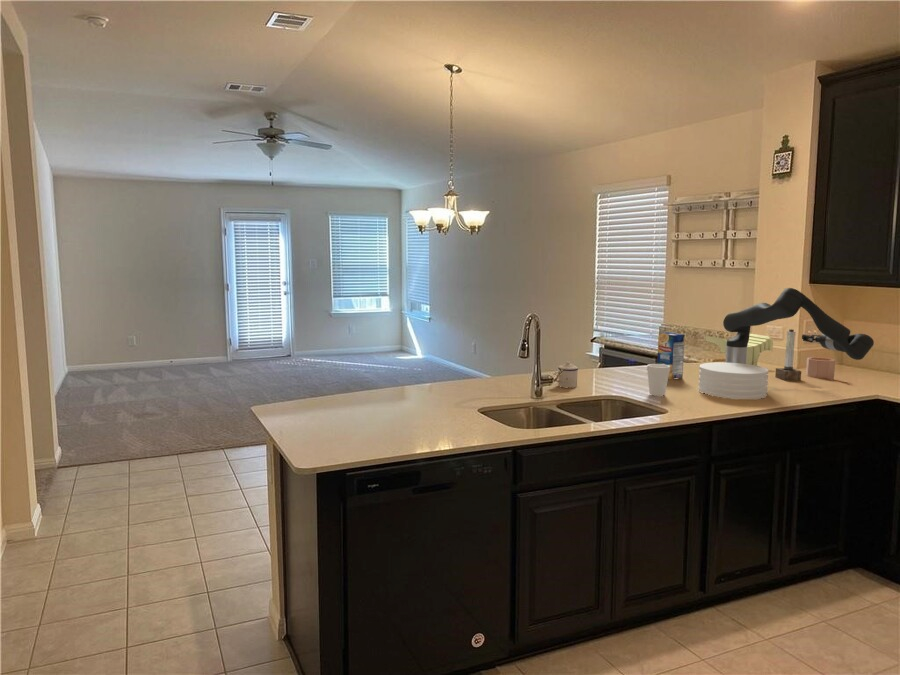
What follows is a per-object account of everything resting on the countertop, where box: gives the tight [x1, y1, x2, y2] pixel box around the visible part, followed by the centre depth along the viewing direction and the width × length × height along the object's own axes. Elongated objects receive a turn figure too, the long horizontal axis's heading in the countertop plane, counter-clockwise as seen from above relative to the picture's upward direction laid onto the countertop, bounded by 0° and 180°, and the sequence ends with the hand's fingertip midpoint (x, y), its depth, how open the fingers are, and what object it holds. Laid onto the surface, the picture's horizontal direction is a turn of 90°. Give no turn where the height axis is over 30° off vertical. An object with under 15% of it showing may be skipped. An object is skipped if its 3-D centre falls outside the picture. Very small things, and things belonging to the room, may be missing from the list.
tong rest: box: [774, 367, 802, 382], centre depth 307 cm, size 8×8×6 cm
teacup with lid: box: [553, 361, 579, 388], centre depth 294 cm, size 12×9×12 cm
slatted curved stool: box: [705, 333, 774, 366], centre depth 340 cm, size 30×16×18 cm, turn 109°
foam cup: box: [646, 363, 670, 397], centre depth 277 cm, size 10×9×13 cm
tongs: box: [783, 328, 796, 371], centre depth 305 cm, size 3×2×24 cm
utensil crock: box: [805, 356, 836, 381], centre depth 314 cm, size 11×11×10 cm
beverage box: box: [656, 331, 686, 380], centre depth 317 cm, size 7×11×22 cm, turn 22°
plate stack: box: [697, 361, 769, 400], centre depth 282 cm, size 28×28×12 cm
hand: (812, 336), depth 288 cm, fingers open, 8 cm apart
